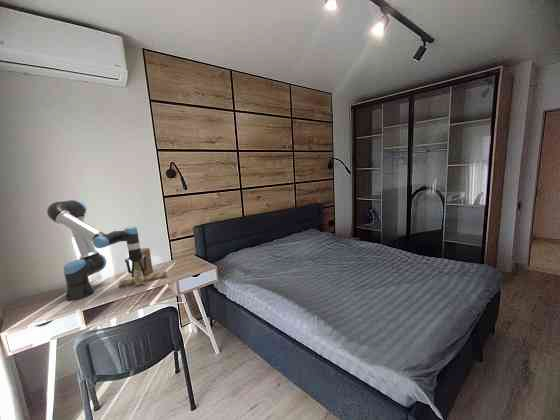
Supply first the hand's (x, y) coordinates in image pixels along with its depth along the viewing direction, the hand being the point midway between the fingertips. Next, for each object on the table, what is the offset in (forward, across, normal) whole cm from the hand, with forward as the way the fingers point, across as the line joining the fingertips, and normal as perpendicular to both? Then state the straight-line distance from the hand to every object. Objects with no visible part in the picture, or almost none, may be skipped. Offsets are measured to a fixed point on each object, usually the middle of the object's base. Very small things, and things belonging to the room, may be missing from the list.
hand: (139, 280), depth 181 cm
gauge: (+2, 0, +4) cm, 4 cm away
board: (+3, +2, +9) cm, 10 cm away
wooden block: (+4, +1, +26) cm, 26 cm away
